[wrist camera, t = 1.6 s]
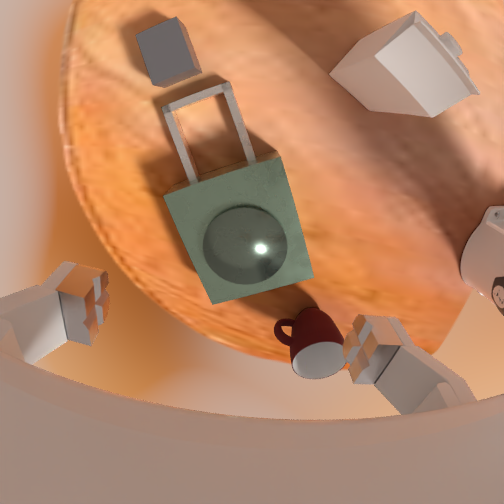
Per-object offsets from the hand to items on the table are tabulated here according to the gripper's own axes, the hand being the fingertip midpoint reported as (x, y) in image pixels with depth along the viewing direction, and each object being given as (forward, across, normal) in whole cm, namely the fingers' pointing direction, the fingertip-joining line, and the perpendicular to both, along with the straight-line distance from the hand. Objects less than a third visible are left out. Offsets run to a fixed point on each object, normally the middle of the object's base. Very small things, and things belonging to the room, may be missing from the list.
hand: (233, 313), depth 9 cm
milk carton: (+30, -13, -15) cm, 36 cm away
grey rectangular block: (+30, +11, -12) cm, 34 cm away
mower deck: (+30, 0, +4) cm, 30 cm away
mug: (+30, -15, +22) cm, 40 cm away
